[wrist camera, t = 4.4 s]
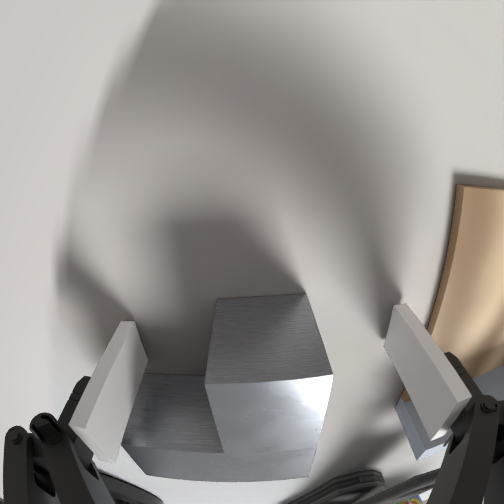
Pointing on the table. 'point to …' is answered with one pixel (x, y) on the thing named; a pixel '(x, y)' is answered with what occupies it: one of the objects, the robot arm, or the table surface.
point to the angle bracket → (239, 399)
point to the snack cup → (412, 500)
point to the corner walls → (491, 383)
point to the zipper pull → (367, 489)
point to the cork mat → (472, 283)
